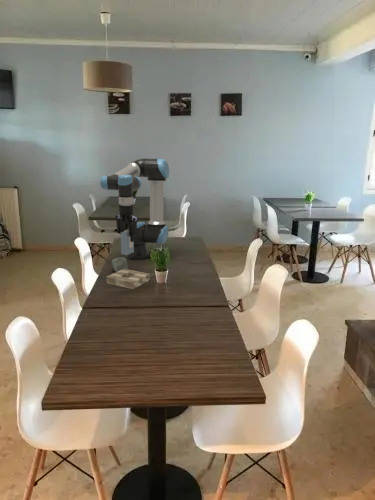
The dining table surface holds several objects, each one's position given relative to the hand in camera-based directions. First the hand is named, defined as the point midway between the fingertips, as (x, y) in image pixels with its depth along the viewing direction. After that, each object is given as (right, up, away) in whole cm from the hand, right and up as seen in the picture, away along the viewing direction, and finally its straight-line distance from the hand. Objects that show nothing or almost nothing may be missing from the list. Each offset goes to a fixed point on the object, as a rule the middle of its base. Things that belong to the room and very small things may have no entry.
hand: (127, 246), depth 229 cm
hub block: (0, -20, +6) cm, 21 cm away
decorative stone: (-8, -15, +24) cm, 29 cm away
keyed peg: (0, -4, +1) cm, 4 cm away
